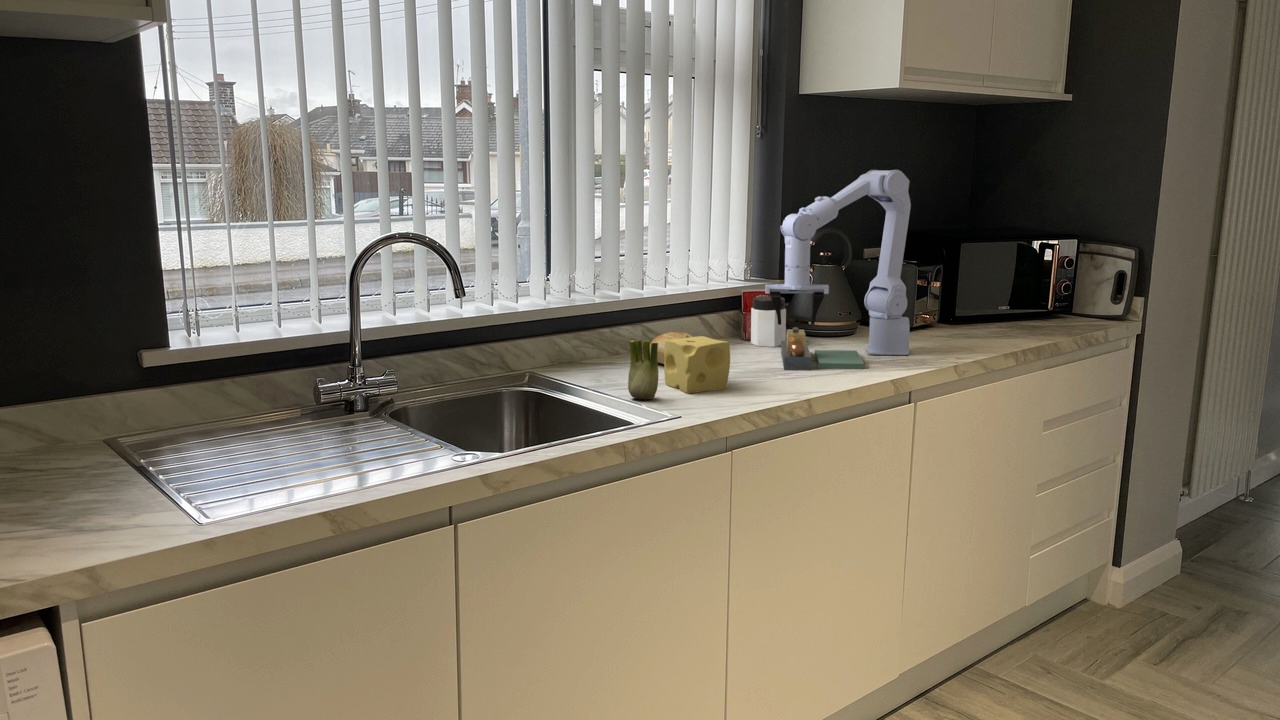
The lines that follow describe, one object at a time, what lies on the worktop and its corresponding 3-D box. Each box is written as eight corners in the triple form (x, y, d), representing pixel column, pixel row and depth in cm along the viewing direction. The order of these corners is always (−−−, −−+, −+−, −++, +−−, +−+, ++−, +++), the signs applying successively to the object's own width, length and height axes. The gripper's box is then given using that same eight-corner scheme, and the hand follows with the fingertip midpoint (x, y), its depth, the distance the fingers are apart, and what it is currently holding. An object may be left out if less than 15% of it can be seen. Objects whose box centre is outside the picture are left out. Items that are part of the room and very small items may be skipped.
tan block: (786, 345, 233) (786, 326, 232) (803, 346, 233) (803, 327, 232) (787, 351, 227) (788, 331, 226) (805, 351, 226) (805, 332, 225)
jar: (769, 348, 246) (770, 301, 244) (744, 344, 252) (745, 298, 250) (791, 343, 252) (792, 297, 250) (766, 340, 258) (767, 295, 256)
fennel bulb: (661, 399, 194) (661, 340, 192) (643, 403, 191) (642, 343, 189) (642, 394, 199) (641, 336, 196) (623, 398, 195) (623, 339, 193)
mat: (856, 355, 236) (856, 350, 236) (863, 368, 221) (864, 363, 221) (814, 354, 238) (814, 350, 237) (819, 368, 222) (819, 363, 222)
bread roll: (668, 359, 235) (668, 326, 234) (712, 368, 224) (712, 333, 222) (638, 364, 229) (637, 331, 228) (681, 374, 218) (681, 339, 216)
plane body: (781, 353, 240) (781, 329, 239) (805, 353, 240) (806, 329, 239) (784, 369, 221) (784, 343, 220) (810, 370, 220) (811, 343, 219)
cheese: (687, 394, 198) (687, 346, 196) (662, 384, 208) (661, 338, 206) (730, 388, 203) (731, 341, 201) (703, 379, 212) (703, 334, 211)
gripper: (766, 267, 223) (765, 326, 225) (830, 268, 221) (828, 327, 224) (765, 264, 230) (764, 321, 232) (828, 264, 228) (826, 322, 231)
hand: (796, 324), depth 229 cm, fingers open, 7 cm apart
